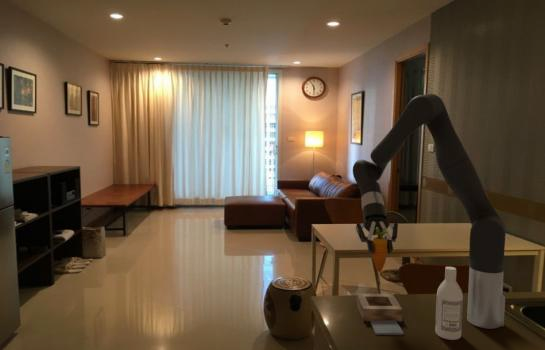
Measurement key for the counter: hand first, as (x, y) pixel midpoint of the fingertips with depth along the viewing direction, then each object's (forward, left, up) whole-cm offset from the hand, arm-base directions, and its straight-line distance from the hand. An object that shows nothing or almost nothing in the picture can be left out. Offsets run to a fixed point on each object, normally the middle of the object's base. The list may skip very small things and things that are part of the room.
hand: (381, 252), depth 129 cm
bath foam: (-17, +12, -21) cm, 30 cm away
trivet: (0, +9, -21) cm, 23 cm away
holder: (0, -2, -21) cm, 21 cm away
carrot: (0, -2, -7) cm, 8 cm away
